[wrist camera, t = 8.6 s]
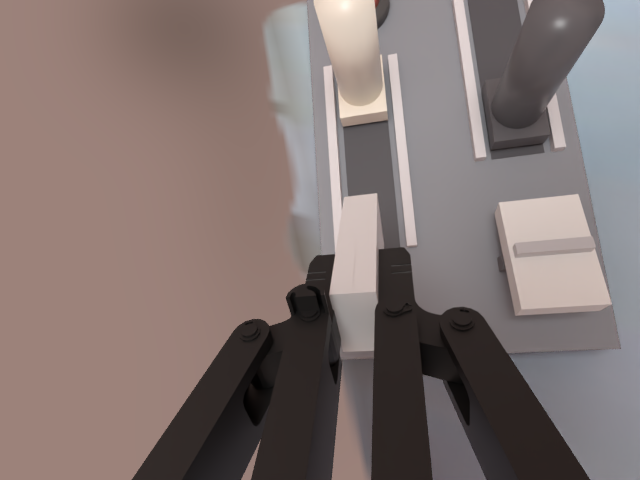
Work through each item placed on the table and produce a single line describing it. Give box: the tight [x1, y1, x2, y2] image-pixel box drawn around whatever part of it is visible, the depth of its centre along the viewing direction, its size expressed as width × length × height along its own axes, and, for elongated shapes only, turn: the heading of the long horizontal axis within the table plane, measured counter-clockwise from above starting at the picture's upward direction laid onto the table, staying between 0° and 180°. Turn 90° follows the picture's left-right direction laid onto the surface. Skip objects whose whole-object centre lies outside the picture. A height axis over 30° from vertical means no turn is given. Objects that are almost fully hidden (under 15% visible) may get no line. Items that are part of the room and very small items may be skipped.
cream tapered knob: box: [314, 0, 388, 127], centre depth 23 cm, size 4×3×9 cm
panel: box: [307, 0, 621, 360], centre depth 26 cm, size 28×16×5 cm, turn 3°
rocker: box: [495, 194, 612, 316], centre depth 21 cm, size 6×4×2 cm, turn 3°
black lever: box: [482, 0, 605, 150], centre depth 21 cm, size 4×3×9 cm
